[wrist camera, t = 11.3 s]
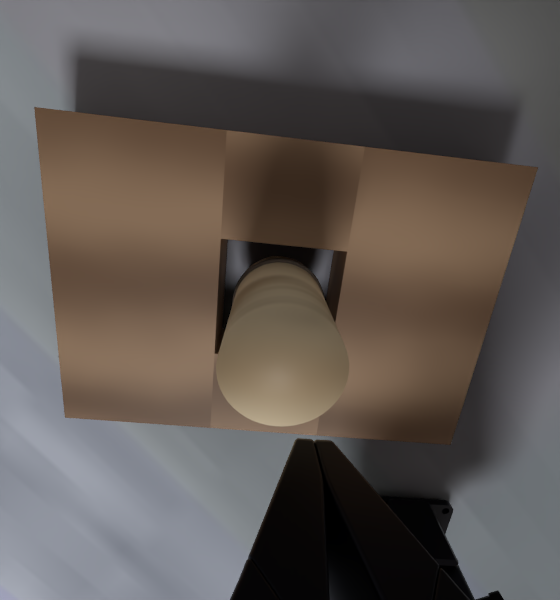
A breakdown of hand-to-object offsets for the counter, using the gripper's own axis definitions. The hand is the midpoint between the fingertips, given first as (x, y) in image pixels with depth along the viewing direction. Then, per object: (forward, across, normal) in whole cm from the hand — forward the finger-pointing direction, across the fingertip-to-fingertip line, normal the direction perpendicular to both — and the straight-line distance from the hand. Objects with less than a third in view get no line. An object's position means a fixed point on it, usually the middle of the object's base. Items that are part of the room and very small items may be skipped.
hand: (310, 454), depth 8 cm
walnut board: (+12, +1, 0) cm, 12 cm away
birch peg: (+12, +1, 0) cm, 12 cm away
